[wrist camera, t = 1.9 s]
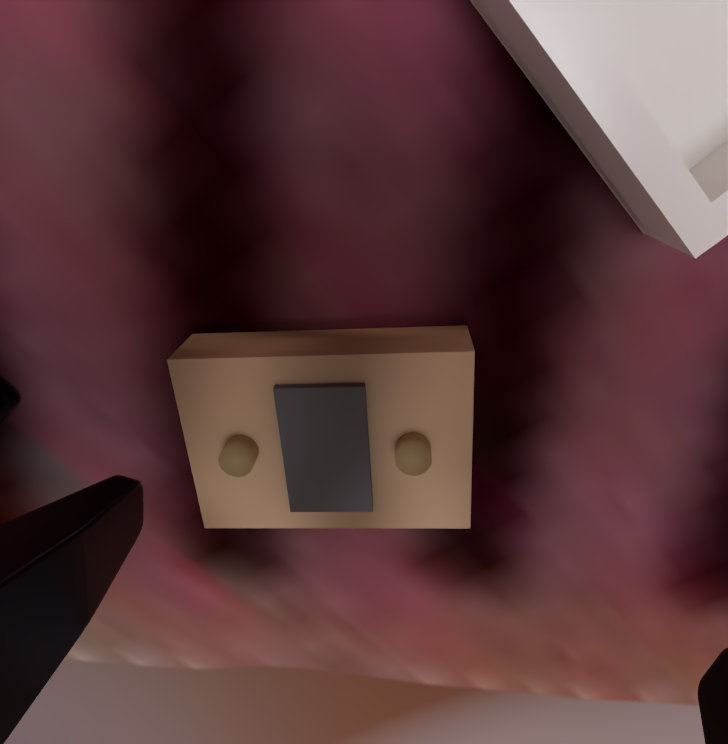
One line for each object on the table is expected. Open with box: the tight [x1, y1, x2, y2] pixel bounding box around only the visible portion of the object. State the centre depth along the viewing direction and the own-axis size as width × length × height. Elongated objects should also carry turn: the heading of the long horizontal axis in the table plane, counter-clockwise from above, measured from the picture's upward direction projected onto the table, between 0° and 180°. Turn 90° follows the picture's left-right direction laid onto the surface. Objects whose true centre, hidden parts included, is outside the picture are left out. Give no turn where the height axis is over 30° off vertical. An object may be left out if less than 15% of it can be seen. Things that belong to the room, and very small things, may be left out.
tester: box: [167, 325, 475, 528], centre depth 20 cm, size 10×7×3 cm
